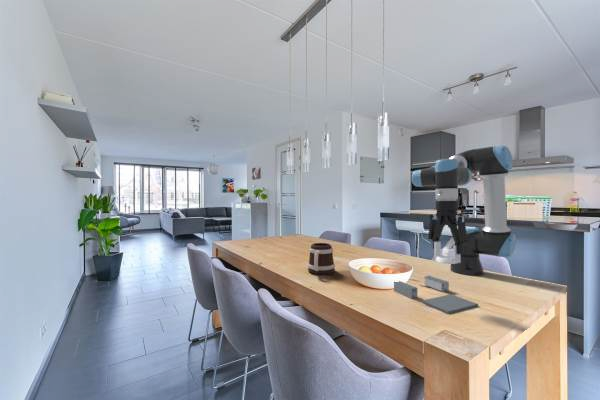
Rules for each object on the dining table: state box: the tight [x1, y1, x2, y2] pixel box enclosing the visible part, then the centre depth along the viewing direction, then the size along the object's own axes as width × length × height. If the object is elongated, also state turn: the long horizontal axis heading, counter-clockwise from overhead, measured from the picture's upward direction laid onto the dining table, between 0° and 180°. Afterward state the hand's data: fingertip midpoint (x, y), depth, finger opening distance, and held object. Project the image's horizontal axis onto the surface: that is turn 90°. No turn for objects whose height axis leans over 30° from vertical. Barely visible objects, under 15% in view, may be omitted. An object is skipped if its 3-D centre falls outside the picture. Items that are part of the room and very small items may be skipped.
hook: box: [435, 236, 456, 265], centre depth 101 cm, size 8×12×7 cm
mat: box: [421, 293, 479, 315], centre depth 101 cm, size 16×11×1 cm
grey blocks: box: [393, 275, 450, 300], centre depth 116 cm, size 21×10×4 cm, turn 113°
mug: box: [307, 242, 336, 276], centre depth 146 cm, size 20×15×15 cm
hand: (446, 260), depth 102 cm, fingers closed on hook, 8 cm apart
